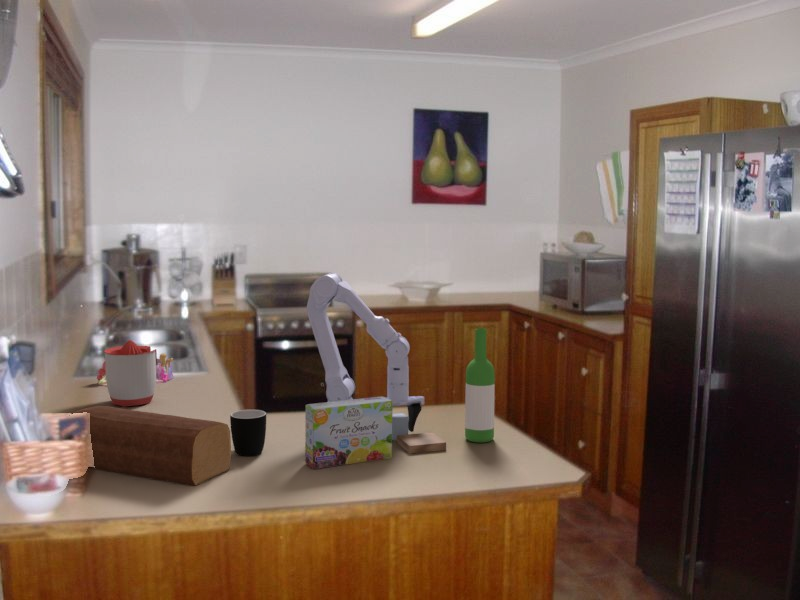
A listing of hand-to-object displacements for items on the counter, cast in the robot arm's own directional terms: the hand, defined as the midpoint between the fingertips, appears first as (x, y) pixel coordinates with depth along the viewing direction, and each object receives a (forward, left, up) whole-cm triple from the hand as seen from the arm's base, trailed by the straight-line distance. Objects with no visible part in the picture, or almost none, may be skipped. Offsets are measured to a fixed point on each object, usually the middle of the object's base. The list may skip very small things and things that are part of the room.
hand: (397, 432), depth 233 cm
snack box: (-18, -16, -2) cm, 24 cm away
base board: (+3, -10, -1) cm, 11 cm away
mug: (-41, 0, -2) cm, 41 cm away
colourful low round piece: (-64, +98, -2) cm, 117 cm away
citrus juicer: (-66, +64, -2) cm, 92 cm away
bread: (-65, -5, -2) cm, 65 cm away
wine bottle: (+20, -9, -2) cm, 22 cm away
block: (0, 0, -2) cm, 2 cm away
